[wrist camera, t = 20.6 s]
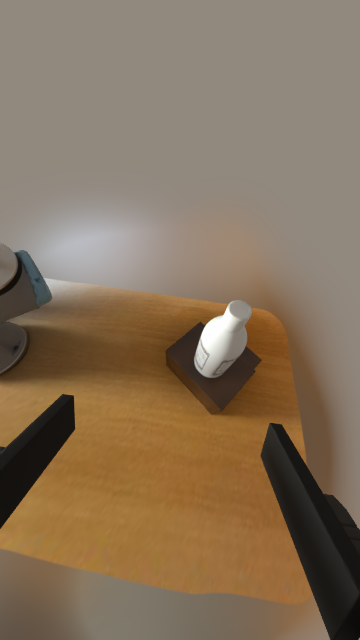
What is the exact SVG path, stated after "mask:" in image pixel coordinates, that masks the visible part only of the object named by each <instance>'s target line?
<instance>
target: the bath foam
mask: <svg viewBox="0 0 360 640" xmlns="http://www.w3.org/2000/svg"><path fill="white" fill-rule="evenodd" d="M251 315H252V309H251V307H250V305H249V304H248V303H246V302H244V301H242V300H234V301H232V302H231V303H230V304H229V305H228V307H227V309H226V311H225V314H224V315H221V316H218V317H215V318H213V319H212V320H210V321H209V322H208V323H207V325H206V326H205V328H204V329H203V331H202V334H201V337H200V341H199V344H198V347H197V350H196V354H195V357H194V363H195V366H196V369H197V370H198V371H199V372H200V373H201V374H202V375H204V376H206V377H209V378H215V377H218V376H220V375H222V374H223V373H224V372H225V371H226V370H227V369H228V368H229V367H230V366H231V365H232V363H233V362H234V361H235V360H236V359H237V358H238V357H239V356H240V355H241V354H242V352H243V351H244V349H245V346H246V343H247V332H246V329H245V324H246V323H247V321H248V320H249V318H250V317H251Z"/></svg>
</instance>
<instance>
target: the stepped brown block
mask: <svg viewBox="0 0 360 640" xmlns="http://www.w3.org/2000/svg"><path fill="white" fill-rule="evenodd" d="M206 325H207V324H206ZM206 325H205V326H206ZM205 326H204V325H203V324H202V323H201V322H200V323H198V324H197V325H196V326H195V327H194V328H192V329H191V330H190V331H189V332H188V333H187V334H185V335H184V336H183V337H182V338H181V339H179V340H178V341H177V342H176V343H175V344H173V345H172V346H171V347H170V348H169V349H167V350H166V362H167V366H168V367H169V368H170V369H171V370H172V371H173V372H174V373H175V375H176V376H177V377H178V378H179V379H180V380H181V381H182V382H183V383H184V384H185V386H186V387H187V388H188V389H189V390H190V391H191V392H192V393H193V394H194V396H195V397H196V398H197V399H198V400H199V401H200V402H201V403H202V404H203V405H204V407H205V408H206V409H207V410H208V411H209V412H210V413H211V414H214V413H217V412H220V411H222V410H223V409H224V408H225V406H226V405H227V404H228V403H229V402H230V401H231V399H232V398H233V397H234V396H235V395H236V394H237V392H238V391H239V390H240V389H241V388H242V387H243V385H244V384H245V383H246V382H247V381H248V380H249V378H250V377H251V376H252V375H253V374H254V373H255V370H254V369H255V367H256V366H257V365H258V364H259V363H260V362H261V359H260V358H259V357H258V356H256V355H255V354H254V353H253V352H252V351H251V350H249V349H248V348H247V347H246V346H245V349H244V351H243V352H242V354H241V355H240V356H239V357H238V358H237V359H236V360H235V361H234V362H233V363H232V365H231V366H230V367H229V368H228V369H227V370H226V371H225V372H224V373H223V374H222V375H220V376H218V377H215V378H209V377H206V376H204V375H202V374H201V373H200V372H199V371H198V370H197V369H196V366H195V363H194V357H195V354H196V350H197V347H198V344H199V341H200V337H201V334H202V331H203V329H204V328H205Z"/></svg>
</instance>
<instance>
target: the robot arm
mask: <svg viewBox="0 0 360 640" xmlns="http://www.w3.org/2000/svg"><path fill="white" fill-rule="evenodd" d="M51 299H52V294H51V292H50V290H49V288H48V286H47V284H46V282H45V280H44V279H43V277H42V275H41V273H40V272H39V270H38V268H37V267H36V265H35V263H34V261H33V260H32V258H31V257H30V255H29V254H28V253H27V252H26V251H24V250H20V251H18V250H17V251H15V252H13V251H12V250H11V249H10V248H9V247H7V246H6V245H4V244H2V243H0V375H2V374H4V373H6V372H8V371H9V370H11V369H12V368H13V367H14V366H15V365H17V364H18V363H19V361H20V360H21V359H22V358H23V356H24V355H25V353H26V351H27V349H28V345H29V337H28V334H27V332H26V331H25V330H24V329H23V328H21V327H20V326H18V325H16V324H13V323H10V322H6V321H7V320H9V319H11V318H14V317H16V316H19V315H21V314H24V313H26V312H28V311H31V310H33V309H37V308H39V307H40V306H42V305H44V304H46V303H48V302H49V301H50V300H51ZM74 430H75V414H74V396H72V395H65V394H62V395H61V396H60V397H59V398H58V399H57V400H56V401H55V402H54V403H53V404H52V405H51V406H50V407H49V408H47V409H46V410H45V411H44V412H43V413H42V414H41V415H40V416H39V417H38V418H37V419H36V420H35V421H34V422H33V423H31V424H30V425H29V426H28V427H27V428H26V429H25V430H24V431H23V432H22V433H21V434H20V435H19V436H18V437H17V438H15V439H14V440H13V441H12V442H11V443H10V444H9V445H8V446H7V447H0V529H1V527H2V526H3V525H4V523H5V522H6V521H7V519H8V518H9V517H10V515H11V514H12V513H13V511H14V510H15V509H16V507H17V506H18V505H19V503H20V502H21V501H22V499H23V498H24V497H25V495H26V494H27V493H28V491H29V490H30V489H31V487H32V486H33V485H34V483H35V482H36V481H37V479H38V478H39V477H40V475H41V474H42V473H43V471H44V470H45V469H46V467H47V466H48V465H49V463H50V462H51V461H52V459H53V458H54V457H55V455H56V454H57V452H58V451H59V450H60V448H61V447H62V446H63V444H64V443H65V442H66V440H67V439H68V438H69V436H70V435H71V434H72V432H73V431H74ZM261 458H262V461H263V464H264V466H265V469H266V472H267V474H268V477H269V479H270V482H271V485H272V487H273V490H274V493H275V495H276V498H277V500H278V503H279V506H280V508H281V511H282V514H283V516H284V519H285V521H286V524H287V527H288V529H289V532H290V535H291V537H292V540H293V543H294V545H295V548H296V550H297V553H298V556H299V558H300V561H301V564H302V566H303V569H304V571H305V574H306V577H307V579H308V582H309V585H310V587H311V590H312V592H313V595H314V598H315V600H316V603H317V605H318V608H319V611H320V613H321V616H322V619H323V621H324V624H325V627H326V629H327V632H328V634H329V637H330V640H358V639H359V638H360V530H359V528H357V525H356V524H355V522H354V520H353V519H352V518H351V516H350V515H349V513H348V512H347V510H346V509H345V508H344V507H343V505H342V504H341V503H340V502H339V501H338V500H337V499H336V498H335V497H334V496H333V495H327V494H323V493H322V491H321V489H320V488H319V486H318V485H317V483H316V481H315V479H314V478H313V476H312V474H311V473H310V471H309V469H308V468H307V466H306V464H305V463H304V461H303V459H302V458H301V456H300V454H299V453H298V451H297V449H296V448H295V446H294V444H293V443H292V441H291V439H290V438H289V436H288V434H287V433H286V431H285V429H284V428H283V426H282V424H275V423H270V424H269V427H268V431H267V434H266V438H265V441H264V445H263V448H262V452H261Z"/></svg>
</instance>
